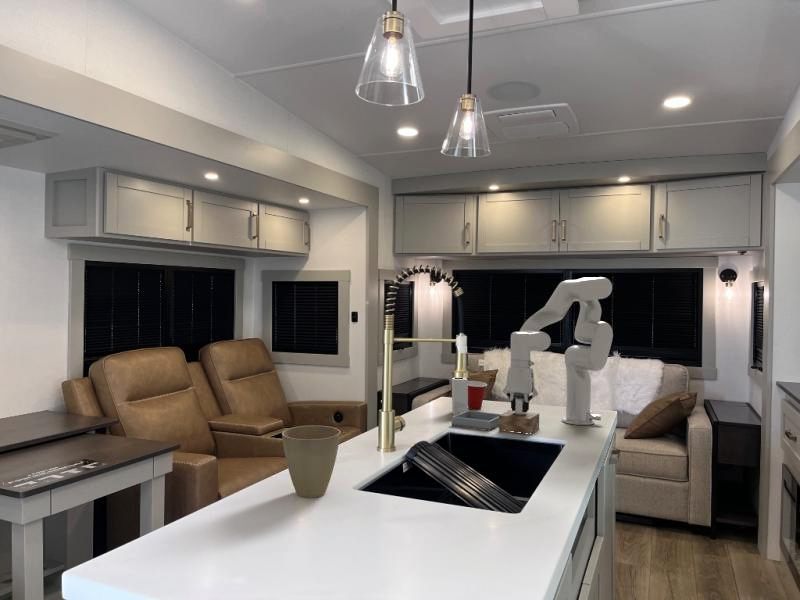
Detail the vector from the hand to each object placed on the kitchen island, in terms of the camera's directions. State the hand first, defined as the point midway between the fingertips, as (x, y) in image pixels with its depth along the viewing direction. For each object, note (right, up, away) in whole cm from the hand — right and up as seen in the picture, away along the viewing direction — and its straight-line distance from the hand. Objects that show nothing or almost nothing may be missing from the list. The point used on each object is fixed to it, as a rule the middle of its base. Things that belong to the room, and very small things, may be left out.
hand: (519, 410), depth 227 cm
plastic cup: (-12, -7, +41) cm, 44 cm away
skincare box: (-20, -7, +29) cm, 36 cm away
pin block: (0, -7, 0) cm, 7 cm away
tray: (-15, -7, +8) cm, 19 cm away
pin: (0, -7, 0) cm, 7 cm away
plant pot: (-69, -7, -76) cm, 103 cm away
